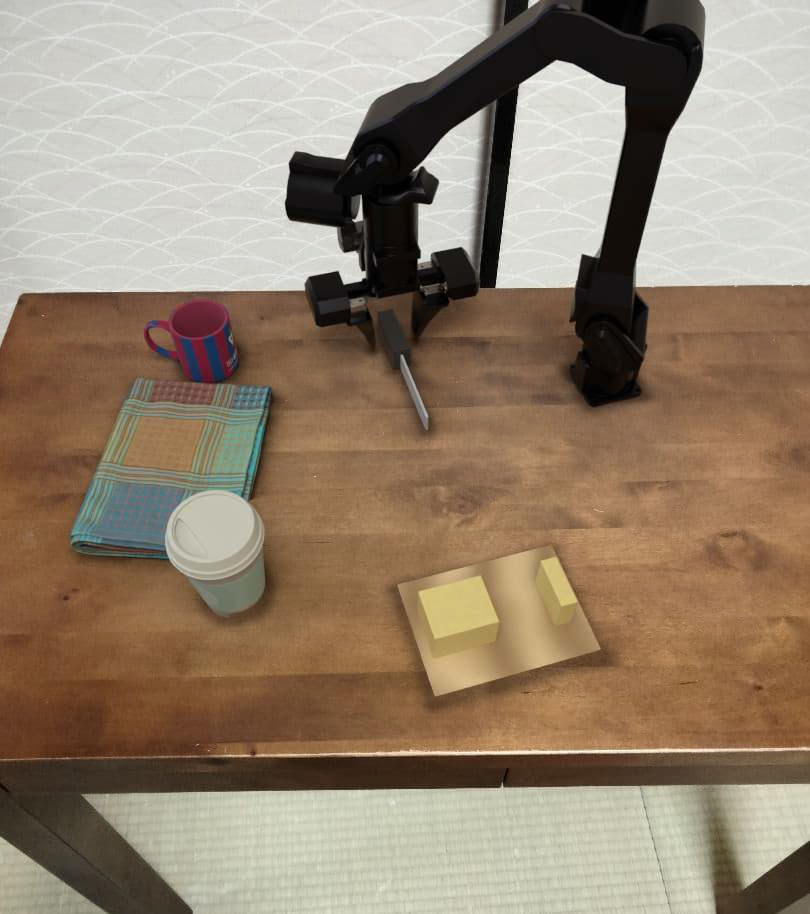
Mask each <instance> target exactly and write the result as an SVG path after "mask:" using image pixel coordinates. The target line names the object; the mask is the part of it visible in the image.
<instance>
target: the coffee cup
mask: <svg viewBox="0 0 810 914" xmlns="http://www.w3.org/2000/svg"><path fill="white" fill-rule="evenodd" d="M264 540H265V526H264V522H263V520H262V518H261V516H260V514H259V513H258V511H257V510H256V509H255V507H254V506H253V505H252V504H251V503H250V502H249V501H248V502H247V501H245V500H244V499H243V498H242V497H240V496H238V495H237V494H234V493H232V492H228V491H223V490H209V491H204V492H200V493H197V494H195V495H193V496H191V497H189V498H187V499H186V500H184V501H183V502H182V503H181V504H180V505H178V507H177V508H176V509H175V510H174V511H173V513H172V515H171V517H170V519H169V522H168V525H167V530H166V535H165V544H166V551H167V554H168V557H169V559H168V560H169V561H170V563H171V564H172V565H173V566H174V567H175V568H176V569H177V570H178V571H179V572H181V573H182V574H183V575H184V576H185V577H186V578H187V579H188V581H189V582H190V584H191V585H192V587H194V589H195V590H196V591H197V593H198V595H200V597H201V598H202V600H203V601H204V602H205V603H206V605H207V606H208V607H209V609H210V610H211V611H212V612H213V613H214V614H216V615H217V616H220V617H222V618H224V619H225V618H226V619H231V615H230V614H237V613H241V612H244V611H246V610H248V609H250V608H252V607H253V606H254V605H256V603H258V601H260V599H261V598H262V596H263V594H264V592H265V588H266V573H265V561H264V549H263V546H264Z"/></svg>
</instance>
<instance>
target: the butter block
mask: <svg viewBox="0 0 810 914" xmlns="http://www.w3.org/2000/svg"><path fill="white" fill-rule="evenodd" d="M418 615H419V618H420V621H421V624H422V627H423V629H424V632H425V635H426V638H427V641H428V644H429V647H430V650H431V653H432V655H433V658H438V657H441V656H445V655H448V654H452V653H456V652H459V651H463V650H467V649H470V648H474V647H478V646H481V645H485V644H488V643H492V642H495V641H496V636H497V631H498V626H499V619H498V617H497V614H496V612H495V609H494V607H493V604H492V602H491V599H490V597H489V594H488V592H487V590H486V587H485V585H484V582H483V580H482V577H481V575H480V576H476V577H472V578H468V579H464V580H460V581H457V582H453V583H449V584H445V585H441V586H438V587H434V588H430V589H426V590H422V591H419V592H418Z"/></svg>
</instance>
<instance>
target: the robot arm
mask: <svg viewBox="0 0 810 914" xmlns="http://www.w3.org/2000/svg"><path fill="white" fill-rule="evenodd" d="M705 9H706V8H705V7H704V5H703V4H702V2H701V1H700V0H538V1H537V2H535V3H534V4H532V5H531V6H530V7H528V8H527V9H525V10H524V11H523V12H521V13H520V14H519V15H517V16H516V17H514V18H513V19H512V20H510V21H509V22H508V23H506V24H504V25H503V26H502V27H500V28H499V29H498V30H497V31H495V32H493V34H491V35H489V36H488V37H486V39H484V40H483V41H481V42H480V43H478V44H477V45H476V46H474V47H473V48H471V49H470V50H469V51H467V52H466V53H465V54H463V55H462V56H461V57H459V58H458V59H456V60H455V61H454V62H452V63H450V64H449V65H448V66H446V67H445V68H443V70H441V71H440V72H438V73H437V74H435V75H433V76H432V77H429V78H427V79H425V80H423V81H417V82H416V81H415V82H410V83H409V82H408V83H406V84H403V85H401V86H399V87H396V88H394V89H392V90H390V91H388V92H386V93H384V94H382V95H379V96H378V97H376V98H375V99H374V101H372V103H371V104H370V105H369V107H368V109H367V112H366V114H365V116H364V119H363V120H362V123H361V125H360V127H359V129H358V130H357V132H356V135H355V137H354V140H353V141H352V144H351V145H350V148H349V150H348V152H347V155H346V157H345V159H344V158H339V157H331V156H323V155H315V154H313V153H310V152H306V151H300V150H299V151H298V150H295V151H294V152H293V153H292V156H291V157H290V159H289V160H288V170H289V173H288V178H287V182H286V183H287V184H286V197H285V200H284V209H285V215H286V217H287V219H288V220H289V221H290V222H293V223H294V222H295V223H301V224H307V225H308V224H309V225H315V226H322V227H329V228H336V235H337V242H338V246H339V249H340V250H341V251H342V253H343V254H347V253H352V252H355V253H356V254H357V255H358V266H359V269H360V271H361V272H365V277H363V278H361V280H359V281H355V282H350V283H349V282H348V283H344V281H343V278H342V277H341V274H340V271H339V270H335V271H330V272H325V273H320V274H315V275H310V276H308V277H307V279H306V280H305V282H304V283H303V284H304V291H305V297H306V300H307V303H308V306H309V309H310V313H311V315H312V318H313V320H314V324H315V326H317V327H320V328H322V329H324V328H327V327H332V326H338V325H342V324H345V325H346V326H347V327H356V328H357V329H358V330H359V332H360V333H361V334H362V335H363V336H364V338H365V340H366V341H367V343H368V345H369V347H370V350H371V351H375V350H376V346H377V341H376V333H375V328H374V321H373V317H372V315H371V312H370V309H369V307H368V305H367V304H368V302H372V301H376V300H381V299H387V298H391V297H397V296H401V295H407V294H412V301H411V313H410V314H411V315H410V337H411V340H412V342H417V341H418V340H419V338H420V337H421V336H422V334H423V333H424V331H425V329H426V328H427V326H428V325H429V324H430V323H431V322H432V320H433V319H434V318H435V317H436V316H437V315H438V313H440V312H441V310H442V309H444V308H447V307H449V306H450V303H451V301H450V300H452V301H453V302H455V301H458V300H459V301H460V300H463V299H469V298H474V297H476V296H477V295H478V293H479V290H480V289H479V287H480V276H479V271H478V270H477V268H476V267H475V264H474V262H473V261H472V259H471V257H470V255H469V253H468V251H467V250H466V249H465V248H463V247H462V246H459V247H454V248H448V249H443V250H437V251H433V252H432V253H430V260H427V261H423V262H419V260H421V259H422V249H421V248H420V245H419V205H426V206H427V205H428V206H430V205H432V204H433V202H434V200H435V197H436V194H437V191H438V189H439V185H440V180H439V178H437V177H436V176H435V175H434V174H432V173H430V172H429V171H428V170H427V168H426V167H425V166H424V165H421V164H422V163H423V162H424V161H425V160H426V159H427V157H428V156H429V155H430V153H431V152H432V151H434V149H435V147H436V146H437V145H438V144H439V143H440V141H441V140H442V139H443V138H444V137H445V136H446V135H447V134H448V133H450V131H451V130H453V129H454V128H456V127H458V126H459V125H460V124H462V123H464V122H465V121H466V120H468V119H470V118H471V117H473V116H474V115H475V114H477V113H478V112H480V111H481V110H483V109H485V108H486V107H488V106H489V105H490V104H492V103H494V102H495V101H497V100H499V99H500V98H501V97H503V96H504V95H506V94H507V93H509V92H511V91H512V90H514V89H515V88H517V87H518V86H520V85H521V84H523V83H524V82H526V81H527V80H529V79H531V78H533V76H535V75H537V74H538V73H539V72H541V71H542V70H544V69H546V68H547V67H548V66H550V65H552V64H553V63H555V62H556V61H558V62H562V63H567V64H572V65H575V66H576V67H578V68H580V69H581V70H583V71H585V72H587V73H589V74H590V75H592V76H593V77H596V78H598V79H600V80H601V81H603V82H605V83H608V84H611V85H616V86H618V87H619V86H620V87H624V120H625V121H624V123H625V126H624V131H623V137H622V142H621V148H620V151H619V156H618V161H617V166H616V170H615V174H614V175H615V176H614V180H613V186H612V190H611V194H610V200H609V205H608V210H607V214H606V219H605V224H604V229H603V234H602V239H601V242H600V246H599V248H598V250H597V251H596V253H595V254H594V256H591V255H588V254H584V253H581V255H580V261H579V265H578V272H577V277H576V280H575V285H574V289H573V290H574V291H573V296H572V302H571V308H570V314H569V319H568V323H570V324H572V323H574V334H575V337H576V338H578V339H580V340H581V341H582V346H581V349H580V350H578V351H577V354H576V357H575V363H573V364H572V363H571V364H570V365H569V369H568V370H569V372H570V374H571V378H572V380H573V382H574V383H575V385H576V386H577V388H578V391H579V392H580V393H581V394H582V395H583V397H584V398H585V400H586V402H587V404H588V405H589V406H590V407H597V406H602V405H605V404H606V405H607V404H610V403H614V402H617V401H622V400H627V399H631V398H636V397H640V396H641V395H642V393H643V389H642V387H641V386H640V384H639V383H638V382H637V380H638V377H639V374H640V370H641V367H642V365H643V362H644V361H645V355H646V352H647V349H648V344H647V333H648V325H649V313H650V306H649V305H648V303H647V302H646V301H645V300H644V299H643V297H642V296H641V295H640V294H639V293H638V292H637V290H636V288H637V287H636V286H637V260H638V255H639V251H640V248H641V244H642V241H643V236H644V232H645V228H646V225H647V221H648V216H649V212H650V208H651V204H652V202H653V201H652V200H653V197H654V193H655V189H656V184H657V181H658V177H659V173H660V168H661V165H662V161H663V159H664V158H663V157H664V153H665V149H666V145H667V141H668V139H669V136H670V134H671V131H672V130H673V128H674V127H675V125H676V123H677V121H678V120H679V118H680V117H681V115H682V113H683V112H684V110H685V108H686V106H687V103H688V102H689V99H690V97H691V95H692V93H693V90H694V88H695V86H696V84H697V82H698V79H699V77H700V75H701V72H702V69H703V62H704V53H705V51H704V50H705V34H706V19H707V15H706V10H705ZM420 165H421V166H420ZM360 207H361V212H362V220H358V221H357V220H356V219H357V218H358V215H359V212H360ZM355 220H356V221H355Z"/></svg>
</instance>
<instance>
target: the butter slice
mask: <svg viewBox="0 0 810 914" xmlns="http://www.w3.org/2000/svg"><path fill="white" fill-rule="evenodd" d="M557 557H558V556H557ZM557 557H553V558H549V559H546V560H542V561H540V565H539V569H538V573H537V577H536V581H535V584H536V586H537V588H538V591H539V593H540V595H541V597H542V600H543V602H544V604H545V606H546V609H547V611H548V613H549V615H550V617H551V620H552V622H553V624H554V626H555V627H556V626H560V625H564V624H567V623H570V622H571V620H572V617H573V614H574V611H575V608H576V605H577V603H578V601H579V600H578V601H577V599H578V598H577V599H576V597H577V596H576V597H575V595H576V594H575V595H574V593H575V592H574V593H573V591H574V590H573V591H572V589H573V588H572V589H571V587H572V585H571V583H570V584H569V582H570V581H569V582H568V580H569V579H568V580H567V578H568V577H567V578H566V576H567V575H566V576H565V574H566V573H565V574H564V572H565V571H564V572H563V570H564V568H563V566H562V564H561V565H560V563H561V562H560V563H559V561H560V560H559V561H558V559H559V558H558V559H557ZM561 566H562V567H561ZM562 568H563V569H562ZM570 585H571V586H570Z"/></svg>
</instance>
